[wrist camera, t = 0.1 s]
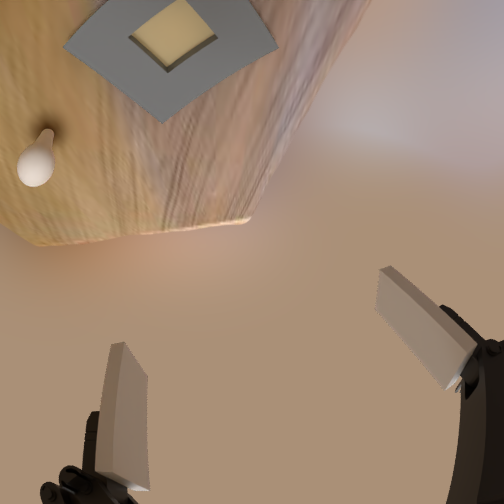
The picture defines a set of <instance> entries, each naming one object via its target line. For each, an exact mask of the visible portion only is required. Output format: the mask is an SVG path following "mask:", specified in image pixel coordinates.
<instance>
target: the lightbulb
mask: <svg viewBox="0 0 504 504" xmlns="http://www.w3.org/2000/svg"><path fill="white" fill-rule="evenodd" d="M53 138H54V132H53V131H52V130H51V129H44V130H43V131H42V132H41V134H40V136H39V137H38V138H37V139H36V141H35V142H34V144H31V145H30V146H28V147H27V148H26V149H25V150H24V151H23V152H22V153H21V155H20V157H19V160H18V164H17V172H18V175H19V178H20V179H21V181H22V182H23V183H24V184H25V185H27V186H31V187H36V186H40V185H42V184H44V183H45V182H46V181H47V180H48V179H49V178H50V177H51V175H52V173H53V171H54V167H55V157H54V154H53V151H52V145H53Z"/></svg>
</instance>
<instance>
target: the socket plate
mask: <svg viewBox="0 0 504 504" xmlns="http://www.w3.org/2000/svg"><path fill="white" fill-rule="evenodd" d="M63 48H64V49H65V50H67V51H68V52H70V53H71V54H72V55H74V56H75V57H77V58H78V59H79V60H81V61H82V62H83V63H85V64H86V65H88V66H89V67H90V68H92V69H93V70H94V71H96V72H97V73H98V74H100V75H101V76H102V77H104V78H105V79H106V80H108V81H109V82H110V83H111V84H113V85H114V86H115V87H117V88H118V89H119V90H121V91H122V92H123V93H124V94H126V95H127V96H128V97H129V98H131V99H132V100H133V101H135V102H136V103H137V104H138V105H140V106H141V107H142V108H143V109H145V110H146V111H147V112H148V113H150V114H151V115H152V116H153V117H154V118H156V119H157V120H158V121H159V122H161V123H162V124H163V123H164V122H165V121H166V120H168V119H169V118H170V117H171V116H173V115H174V114H175V113H177V112H178V111H179V110H181V109H182V108H183V107H185V106H186V105H187V104H189V103H190V102H191V101H193V100H194V99H196V98H197V97H198V96H200V95H201V94H203V93H204V92H206V91H207V90H208V89H210V88H211V87H213V86H214V85H216V84H217V83H219V82H221V81H222V80H224V79H225V78H227V77H228V76H230V75H232V74H233V73H235V72H236V71H238V70H240V69H241V68H243V67H245V66H247V65H248V64H250V63H252V62H254V61H255V60H257V59H259V58H261V57H263V56H264V55H266V54H268V53H270V52H272V51H274V50H276V49H278V48H279V47H278V45H277V44H276V42H275V40H274V39H273V37H272V35H271V34H270V32H269V31H268V29H267V27H266V26H265V24H264V23H263V21H262V20H261V18H260V17H259V15H258V14H257V12H256V11H255V9H254V8H253V6H252V5H251V3H250V2H249V0H108V1H107V2H106V3H105V4H104V5H103V6H102V7H100V8H99V9H98V10H97V11H96V12H95V13H94V14H93V15H92V16H91V17H90V18H89V19H88V20H87V21H86V22H85V23H84V24H83V25H82V26H81V27H80V28H79V29H78V30H77V32H76V33H75V34H74V35H73V36H72V37H71V38H70V39H69V41H68V42H67V43H66V44H65V45H64V46H63Z"/></svg>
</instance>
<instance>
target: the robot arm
mask: <svg viewBox="0 0 504 504" xmlns="http://www.w3.org/2000/svg"><path fill="white" fill-rule="evenodd" d="M375 310H376V311H377V312H378V313H379V315H380V316H382V318H383V319H384V320H385V321H386V322H387V323H388V325H389V326H390V327H391V328H392V329H393V330H394V331H395V332H396V334H397V335H398V336H399V337H400V338H401V339H402V341H403V342H404V343H405V344H406V345H407V346H408V347H409V349H410V350H411V351H412V352H413V353H414V355H415V356H416V357H417V358H418V359H419V360H420V362H421V363H422V364H423V365H424V366H425V368H426V369H427V370H428V371H429V372H430V374H431V375H432V376H433V377H434V379H435V380H436V381H437V382H438V384H439V385H440V386H441V387H442V389H443V390H444V391H445V390H446V389H448V388H449V387H450V386H452V385H453V384H454V383H455V382H456V381H457V379H458V377H459V376H461V377H462V378H463V379H462V380H461V382H460V383H459V385H458V386H457V388H456V390H455V392H458V390H459V389H460V387H461V390H460V393H461V410H460V425H459V436H458V446H457V453H456V459H455V465H454V471H453V476H452V481H451V486H450V490H449V494H448V498H447V502H446V504H504V340H503V341H500V342H497V341H496V340H493V339H489V340H484V339H483V338H482V337H481V336H480V335H479V334H478V333H477V332H476V331H475V330H474V329H473V328H472V327H471V326H470V325H469V324H468V323H466V322H464V320H463V319H462V318H461V317H459V316H458V314H457V313H456V312H455V311H453V310H452V309H451V308H449V307H446V306H445V305H441V306H439V307H438V306H437V305H436V304H435V303H434V302H433V301H431V299H429V298H428V297H427V296H426V295H425V294H424V293H422V292H421V291H420V290H419V289H418V288H417V287H416V286H415V285H413V284H412V283H411V282H410V281H409V280H408V279H406V278H405V277H404V276H403V275H402V274H400V273H399V272H398V271H397V270H396V269H394V268H393V267H392V266H388V267H385V268H383V269H380V273H379V281H378V290H377V298H376V305H375ZM147 382H148V376H147V374H146V373H145V372H144V370H143V369H142V367H141V366H140V364H139V363H138V362H137V360H136V359H135V357H134V356H133V354H132V353H131V351H130V349H129V348H128V347H127V345H126V343H125V342H121V343H116V344H112V345H111V348H110V353H109V358H108V363H107V369H106V374H105V380H104V385H103V392H102V398H101V405H100V411H94V412H91V414H90V416H89V418H88V420H87V424H86V433H85V442H84V451H83V464H82V470H81V469H79V468H77V467H75V466H66V467H64V468H63V469H62V470H61V472H60V475H59V484H60V486H58V485H56V484H54V483H52V482H46V483H44V484H43V485H42V487H41V489H40V496H41V500H42V503H43V504H138V503H137V502H136V501H135V500H134V499H133V497H132V496H131V495H129V494H128V493H127V488H130V489H132V490H134V491H150V482H149V471H148V470H149V469H148V449H147Z"/></svg>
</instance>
